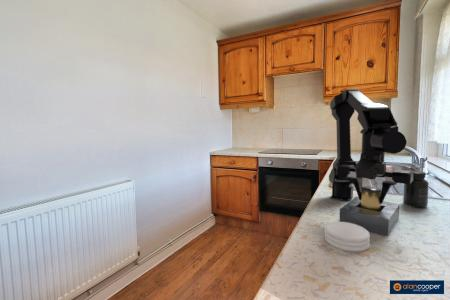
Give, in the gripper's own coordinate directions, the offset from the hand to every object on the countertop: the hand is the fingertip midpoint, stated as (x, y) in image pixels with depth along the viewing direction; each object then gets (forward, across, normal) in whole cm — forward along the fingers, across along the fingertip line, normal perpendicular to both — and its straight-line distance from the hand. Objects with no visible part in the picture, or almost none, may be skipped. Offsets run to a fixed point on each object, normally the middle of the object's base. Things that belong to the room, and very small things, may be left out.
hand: (370, 201), depth 70 cm
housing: (+6, 0, 0) cm, 6 cm away
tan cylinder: (+6, 0, 0) cm, 6 cm away
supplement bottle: (+6, +8, +26) cm, 28 cm away
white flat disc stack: (+6, -1, -18) cm, 19 cm away
